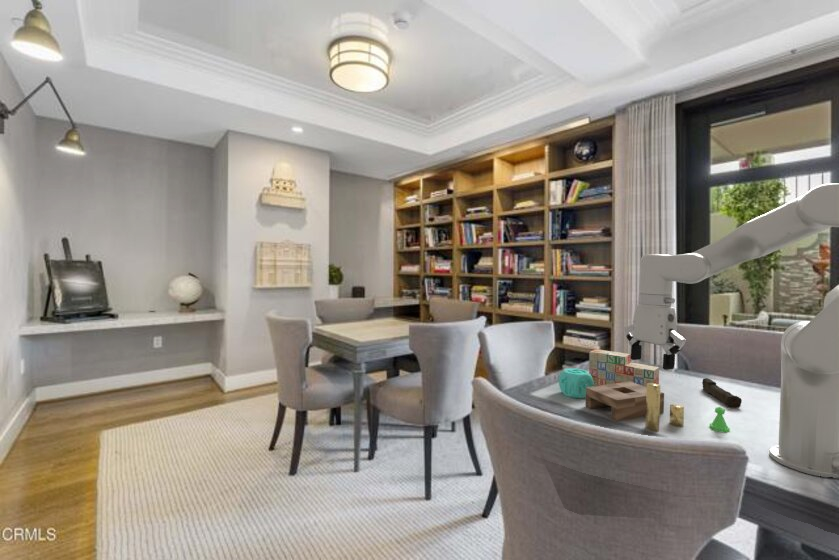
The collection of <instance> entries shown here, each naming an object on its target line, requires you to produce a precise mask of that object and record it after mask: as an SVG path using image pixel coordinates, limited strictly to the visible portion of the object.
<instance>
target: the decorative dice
mask: <svg viewBox="0 0 839 560" xmlns="http://www.w3.org/2000/svg"><path fill="white" fill-rule="evenodd" d="M558 386H559V389H560V391H561V392H562V394H563V395H565V396H566V397H569V398H571V399H572V398H573V399H586V387H592V386H595V385H594V383H593V379H592V377H591V375H590V374H589V371H587V370H586V369H585V370H584V369H582V368H576V367H575V368H565V369H564V370H562V372H561V373H560V375H559V377H558Z"/></svg>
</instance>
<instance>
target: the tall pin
mask: <svg viewBox="0 0 839 560" xmlns="http://www.w3.org/2000/svg"><path fill="white" fill-rule="evenodd" d="M660 392H661V384H660V383H659V384H656V383H647V384H646V416H645V429H646V430H648V431H650V432H659V431H660V417H661V416H660V415H661V414H660Z"/></svg>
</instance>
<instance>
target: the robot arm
mask: <svg viewBox="0 0 839 560" xmlns="http://www.w3.org/2000/svg"><path fill="white" fill-rule="evenodd" d="M832 227H834V228H839V183H825V184H821V185H818V186H816V187H813V188H811V189H810V190H809V191H807V192H806V193H805V194H803V195H801V196H799V197H796V198H795V199H792V200H791V201H788V202H787V203H785V204H783V205H780V206H778V207H776V208H774V209H772V210H770V211H768V212H766V213H764V214H762V215H760V216H757V217H755V218H753V219H751V220H749V221H746V222H744V223H743V224H741V225H739V226H738V227H736V228H735V229H734V230H733V231H731V232H730V233H728V234H726V235H725V236H723V237H722V238H720V239H718V240H716V241H714V242H712V243H710V244H707V245H705V246H704V247H701V248H700V249H697V250H695V251H693V252H691V253H690V252H689V253H683V254H671V255H670V254H664V253H663V254H661V253H660V254H659V253H655V254H654V253H651V254H649V253H648V254H643V255H642V256H641V258H640V261H639V280H638V297H637V298H638V302H637V304H636V306H635V309H634V314H633V319H632V320H633V321H632V324H631V325H628V326H626V327H624V328H623V329H624V332H625V335H626V336H625V337H626V339H627V340H628V343H629V345H630V347H631V348H630V349H631V350H630V354H631V358H630V360H631V361H638V360H641V359H642V349H643V347H642V345H641V343H642V342H644V343H648V344H653V345H656V346H661V347H662V350H663V351H664V352H665V353H664V354H662V355H663V357H662V369H663V370H665V371H668V370H674V369H675V365H676V364H675V361H676V355H677V354H678V353H679V352H680V351H682V350H683V348H684V346H685V344H686V342H687V339H685V338H684V337H683V336H682V335H680V334H679V333H678V324H677V322H678V321H677V316H676V315H677V313H676V310H675V307H674V306H672V304H674V303H675V302H676V299H675V298H674V297H673V298H672V295H673V282H677V283H683V284H691V285H692V284H697V283H701V282H702V281H704V280H705V279H708V278H710V277H712V276H714V275H717V274H719V273H721V272H724V271H726V270H729V269H730V268H733V267H735V266H738V265H741V264H743V263H746V262H749V261H753V260H756V259H759V258H762V257H764V256H768V255H769V254H771V253H774V252H776V251H779V250H782V249H783V248H786V247H787V246H790V245H793V244H794V243H797V242H800V241H802V240H804V239H807V238H809V237H811V236H813V235H816V234H818V233H820V232H822V231H825V230H827V229H830V228H832ZM780 360H781V361H780V363H781V366H780V367H781V369H780V370H781V371H780V372H781V374H780V375H781V376H780V377H781V378H780V395H779V396H780V397H779V423H778V426H779V427H778V445H773V446H771V447H769V449H768V452H769V456H770V458H772V459H773V460H774V461H776V462H778V463H779V464H781V465H782V466H785V467H787V468H789V469H792V470H795V471H797V472H800V473H805V474H808V475H811V476H815V477H820V476H821V478H827V477H833V478H832V479H839V284H838V285H835V287H834V288H833V289H831V290H830V291H829V292H828V293H827V294H826V295H825V298H824V300H823V309H821V310H820V312H818V313H817V314H816V315H815V316H814V317H813V318H812V319H810V320H804V321H798V322H795V323H793V324H791V325H790V326H788V327H787V328H786V329H785V331H784V332H783V334H782V335H781V340H780Z"/></svg>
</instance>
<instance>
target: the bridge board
mask: <svg viewBox="0 0 839 560" xmlns="http://www.w3.org/2000/svg"><path fill="white" fill-rule="evenodd" d="M585 407H586V408H587V409H590V410H591V409H597V408H603V407H611V408H610V409H611V410H610V411H611V414H610V419H611V418H612V419H611V420H613V419H614V421H615V420H616V421H615V422H620V421H619V420H621V421H626V420H631V419H636V418H638V419H639V418H643V417H646V387H645V386H642V385H639V384H636V383H633V382H622V383H615V384H607V385H600V386H597V385H594V386H592V387H586V398H585ZM664 413H665V392H662V391H660V415H661V414H664Z"/></svg>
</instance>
